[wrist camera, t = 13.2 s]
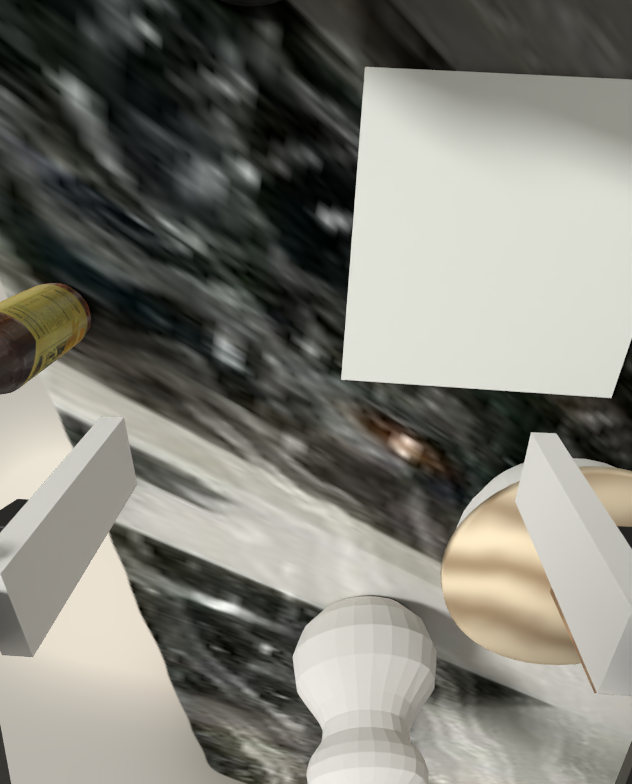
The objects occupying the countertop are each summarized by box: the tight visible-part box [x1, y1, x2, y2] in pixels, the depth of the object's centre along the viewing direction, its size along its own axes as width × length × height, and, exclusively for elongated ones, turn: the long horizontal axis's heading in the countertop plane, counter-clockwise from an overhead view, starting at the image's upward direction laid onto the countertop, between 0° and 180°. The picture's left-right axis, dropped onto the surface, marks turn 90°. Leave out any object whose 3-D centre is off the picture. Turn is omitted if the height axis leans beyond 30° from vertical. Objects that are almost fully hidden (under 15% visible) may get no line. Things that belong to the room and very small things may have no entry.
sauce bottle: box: [0, 283, 91, 394], centre depth 40 cm, size 7×6×20 cm
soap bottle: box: [293, 596, 437, 784], centre depth 52 cm, size 17×12×29 cm
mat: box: [341, 67, 632, 398], centre depth 44 cm, size 26×26×1 cm
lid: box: [441, 466, 632, 693], centre depth 44 cm, size 24×24×11 cm
